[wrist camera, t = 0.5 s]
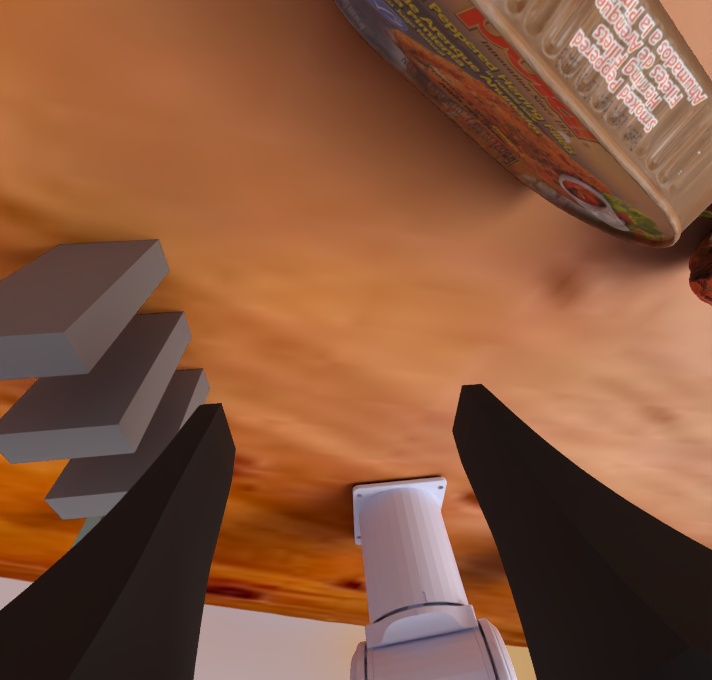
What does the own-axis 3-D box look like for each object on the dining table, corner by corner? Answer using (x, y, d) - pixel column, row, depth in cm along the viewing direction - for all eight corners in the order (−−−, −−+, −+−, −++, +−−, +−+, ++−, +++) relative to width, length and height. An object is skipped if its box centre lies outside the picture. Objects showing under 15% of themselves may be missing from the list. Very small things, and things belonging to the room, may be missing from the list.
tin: (301, -15, 13) (287, -138, 6) (350, -129, 11) (408, -467, 4) (558, 217, 18) (703, 293, 12) (611, 161, 17) (811, 209, 10)
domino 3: (209, 388, 23) (168, 509, 16) (135, 393, 22) (62, 519, 16) (203, 368, 22) (156, 488, 15) (126, 374, 21) (44, 499, 15)
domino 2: (191, 336, 20) (134, 452, 14) (109, 341, 20) (10, 463, 13) (183, 311, 19) (117, 424, 13) (96, 317, 19) (-16, 435, 13)
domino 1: (169, 270, 18) (88, 373, 11) (75, 275, 18) (-63, 384, 11) (158, 239, 17) (64, 332, 11) (59, 244, 17) (-102, 343, 10)
